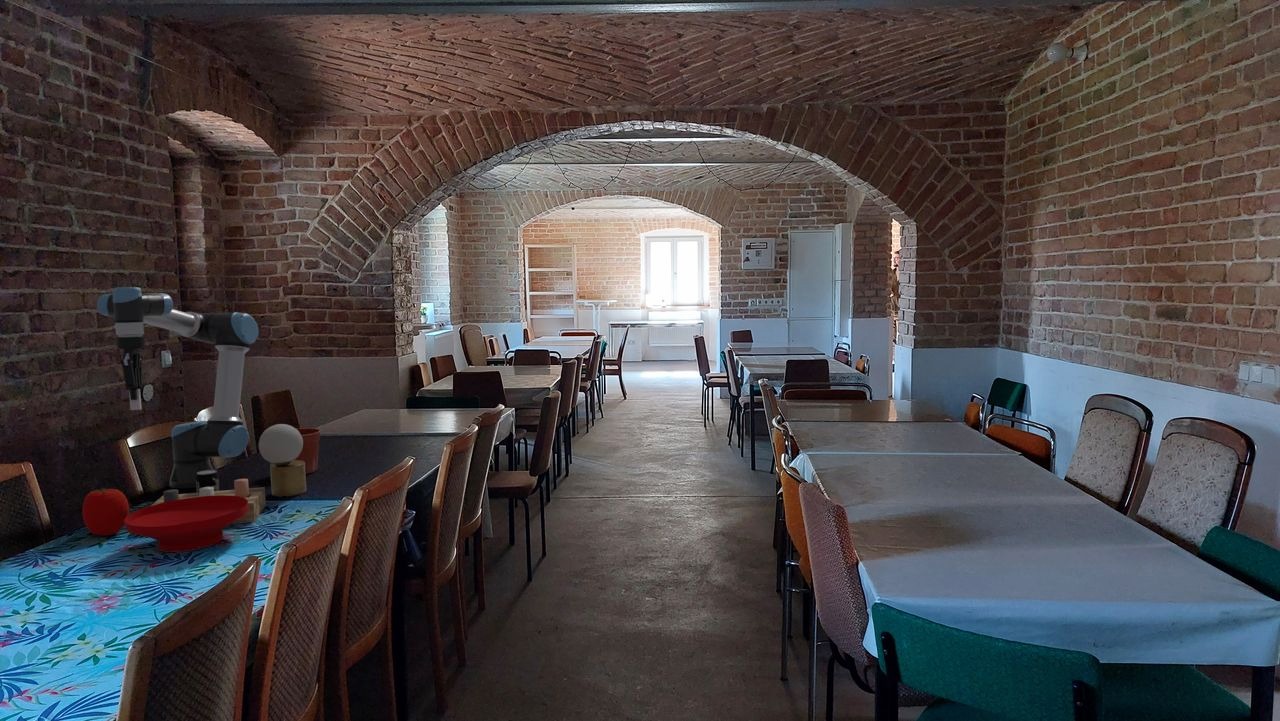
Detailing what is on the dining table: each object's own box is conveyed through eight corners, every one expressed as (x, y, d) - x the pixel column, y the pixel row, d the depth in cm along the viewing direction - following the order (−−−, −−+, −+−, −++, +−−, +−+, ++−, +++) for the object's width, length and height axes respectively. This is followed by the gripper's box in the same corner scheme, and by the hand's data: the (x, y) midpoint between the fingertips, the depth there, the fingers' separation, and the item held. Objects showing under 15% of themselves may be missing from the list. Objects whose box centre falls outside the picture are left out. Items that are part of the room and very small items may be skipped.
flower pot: (312, 476, 298) (310, 435, 296) (270, 477, 298) (267, 436, 296) (330, 466, 314) (327, 427, 313) (289, 467, 314) (287, 428, 313)
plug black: (167, 518, 244) (165, 490, 243) (181, 516, 245) (179, 489, 244) (163, 521, 240) (161, 493, 239) (178, 520, 241) (176, 492, 240)
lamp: (284, 501, 263) (280, 428, 261) (252, 498, 268) (247, 427, 265) (316, 490, 277) (312, 421, 275) (285, 487, 282) (281, 419, 280)
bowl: (273, 531, 230) (271, 499, 229) (183, 567, 201) (181, 529, 200) (196, 523, 240) (194, 491, 239) (100, 555, 211) (97, 519, 210)
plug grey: (202, 514, 246) (201, 487, 246) (216, 513, 248) (215, 486, 247) (199, 518, 243) (197, 490, 242) (214, 517, 244) (212, 489, 243)
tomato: (73, 537, 227) (69, 490, 226) (111, 525, 238) (107, 481, 237) (103, 541, 223) (99, 493, 222) (140, 529, 234) (137, 484, 232)
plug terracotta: (237, 506, 249) (235, 479, 248) (250, 505, 250) (249, 478, 250) (234, 510, 245) (232, 482, 245) (248, 508, 247) (246, 481, 246)
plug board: (164, 513, 250) (162, 495, 250) (265, 504, 259) (264, 487, 259) (144, 531, 231) (143, 512, 231) (254, 521, 240) (253, 502, 239)
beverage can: (210, 510, 253) (208, 474, 252) (193, 509, 255) (190, 473, 254) (224, 504, 260) (222, 469, 259) (208, 504, 261) (205, 469, 260)
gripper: (123, 335, 249) (129, 407, 251) (109, 337, 237) (115, 413, 239) (150, 334, 251) (155, 406, 254) (137, 336, 239) (142, 411, 241)
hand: (136, 409), depth 246 cm, fingers closed
